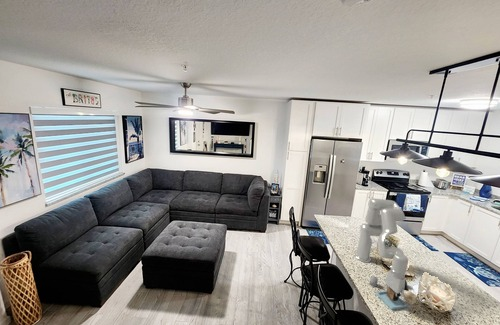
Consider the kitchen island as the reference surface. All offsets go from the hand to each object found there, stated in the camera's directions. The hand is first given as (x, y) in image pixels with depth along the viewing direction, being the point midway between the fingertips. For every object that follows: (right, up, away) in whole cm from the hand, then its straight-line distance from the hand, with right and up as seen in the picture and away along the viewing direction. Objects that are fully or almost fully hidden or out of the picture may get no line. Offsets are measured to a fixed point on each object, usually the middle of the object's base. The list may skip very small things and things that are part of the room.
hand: (391, 296), depth 136 cm
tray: (0, -3, +1) cm, 3 cm away
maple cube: (+13, -4, +2) cm, 14 cm away
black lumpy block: (+18, -2, +15) cm, 24 cm away
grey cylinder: (-4, 0, +14) cm, 14 cm away
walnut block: (0, -1, 0) cm, 1 cm away
